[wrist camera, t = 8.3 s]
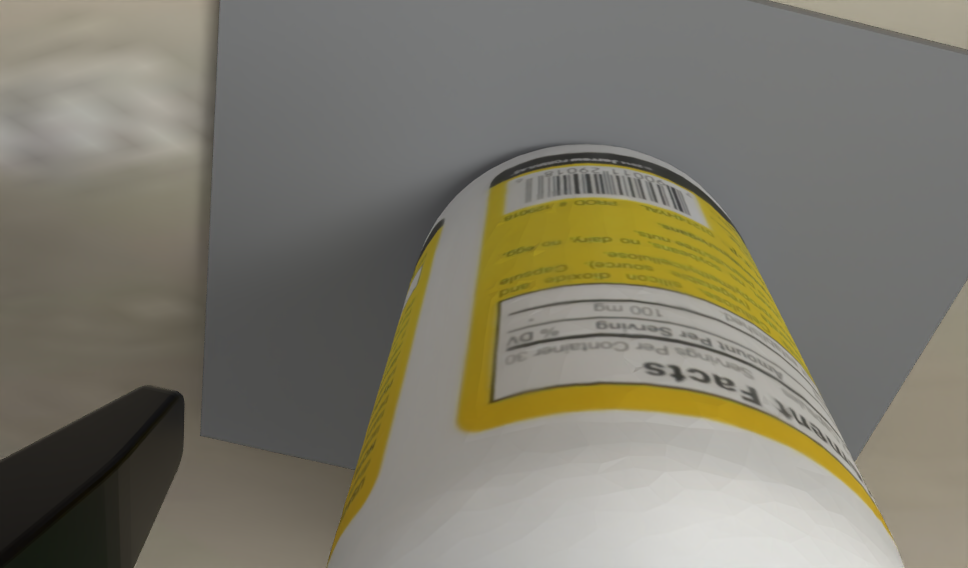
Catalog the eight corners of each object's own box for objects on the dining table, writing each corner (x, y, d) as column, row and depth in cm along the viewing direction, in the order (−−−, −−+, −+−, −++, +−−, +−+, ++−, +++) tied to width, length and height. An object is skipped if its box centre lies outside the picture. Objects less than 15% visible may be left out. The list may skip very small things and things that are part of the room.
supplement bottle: (545, 463, 15) (536, 1291, 6) (352, 259, 13) (-21, 1045, 5) (810, 323, 13) (1298, 1240, 4) (628, 59, 11) (873, 778, 3)
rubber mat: (1062, 73, 11) (1087, 85, 11) (782, 542, 16) (789, 566, 16) (241, -132, 11) (225, -130, 10) (212, 415, 16) (200, 435, 15)
